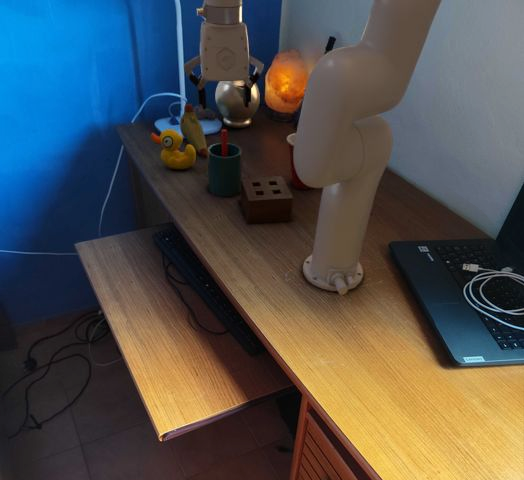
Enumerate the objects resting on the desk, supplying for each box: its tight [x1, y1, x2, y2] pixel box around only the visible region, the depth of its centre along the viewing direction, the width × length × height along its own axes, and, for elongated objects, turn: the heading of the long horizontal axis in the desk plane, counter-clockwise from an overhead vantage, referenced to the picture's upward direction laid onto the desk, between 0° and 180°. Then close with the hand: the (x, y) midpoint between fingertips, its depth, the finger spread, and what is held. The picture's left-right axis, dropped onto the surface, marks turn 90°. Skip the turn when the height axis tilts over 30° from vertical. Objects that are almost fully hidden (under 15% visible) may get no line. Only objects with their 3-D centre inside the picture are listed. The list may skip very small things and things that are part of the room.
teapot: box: [214, 75, 261, 129], centre depth 143 cm, size 18×14×16 cm
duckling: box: [150, 128, 197, 170], centre depth 123 cm, size 11×5×10 cm, turn 86°
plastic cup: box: [286, 132, 313, 190], centre depth 119 cm, size 11×11×12 cm
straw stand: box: [240, 175, 294, 225], centre depth 111 cm, size 10×10×6 cm
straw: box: [221, 128, 228, 157], centre depth 115 cm, size 1×1×14 cm
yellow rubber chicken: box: [179, 103, 208, 157], centre depth 133 cm, size 20×5×10 cm, turn 24°
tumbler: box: [207, 142, 243, 198], centre depth 116 cm, size 8×8×10 cm
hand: (225, 106), depth 105 cm, fingers open, 9 cm apart
